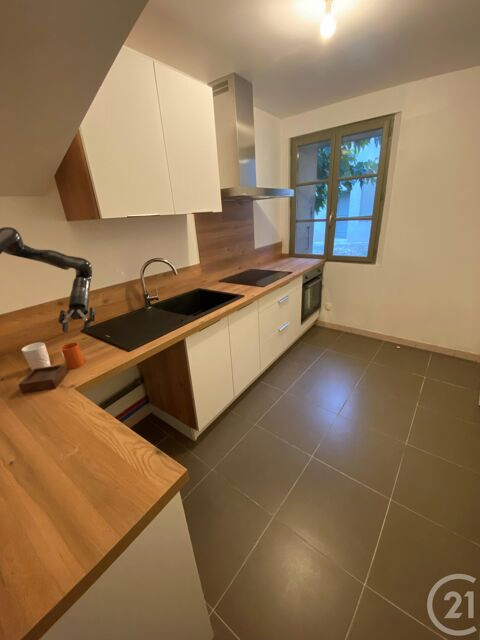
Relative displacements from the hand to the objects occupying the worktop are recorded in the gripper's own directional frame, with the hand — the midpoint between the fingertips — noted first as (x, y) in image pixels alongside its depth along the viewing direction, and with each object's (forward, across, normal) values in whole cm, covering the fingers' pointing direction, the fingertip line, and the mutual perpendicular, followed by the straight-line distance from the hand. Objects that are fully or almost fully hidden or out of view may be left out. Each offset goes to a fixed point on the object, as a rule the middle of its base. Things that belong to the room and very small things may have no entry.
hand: (75, 331), depth 114 cm
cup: (+14, 0, -4) cm, 15 cm away
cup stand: (+23, +5, +5) cm, 24 cm away
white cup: (+14, +14, -4) cm, 20 cm away
